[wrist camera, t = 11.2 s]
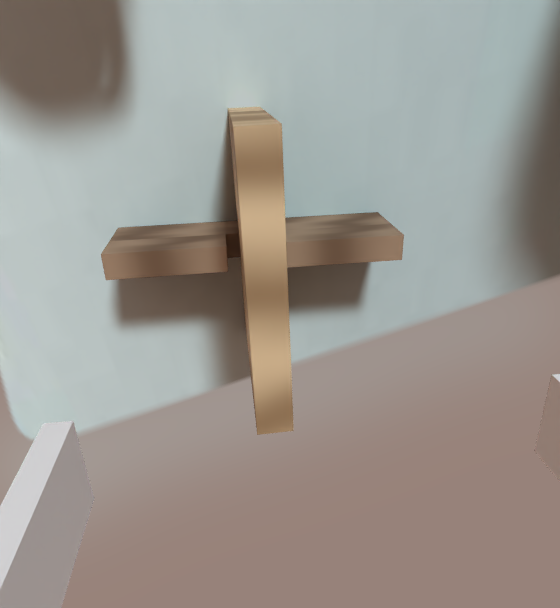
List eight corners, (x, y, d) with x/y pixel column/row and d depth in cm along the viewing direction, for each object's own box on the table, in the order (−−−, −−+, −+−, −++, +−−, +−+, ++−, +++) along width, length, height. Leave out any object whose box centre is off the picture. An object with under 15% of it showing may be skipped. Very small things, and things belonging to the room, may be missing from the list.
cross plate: (272, 329, 38) (293, 430, 27) (246, 332, 38) (257, 434, 27) (259, 106, 31) (281, 123, 21) (228, 108, 31) (233, 126, 20)
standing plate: (377, 212, 35) (403, 234, 30) (376, 234, 36) (401, 259, 31) (118, 227, 34) (100, 254, 29) (122, 250, 34) (105, 279, 29)
